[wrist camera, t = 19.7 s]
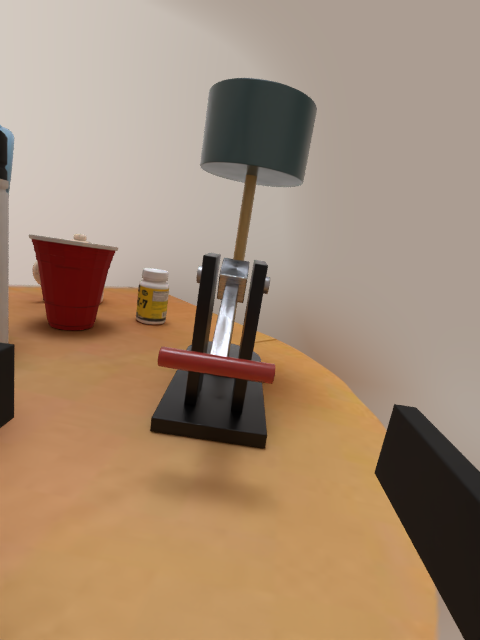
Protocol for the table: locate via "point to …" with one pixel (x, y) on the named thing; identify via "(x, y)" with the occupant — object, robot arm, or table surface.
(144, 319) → the supplement bottle
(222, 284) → the switch lever
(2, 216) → the travel mug
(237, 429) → the switch base
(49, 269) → the plastic cup
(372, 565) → the table surface
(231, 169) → the desk lamp
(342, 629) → the table surface
